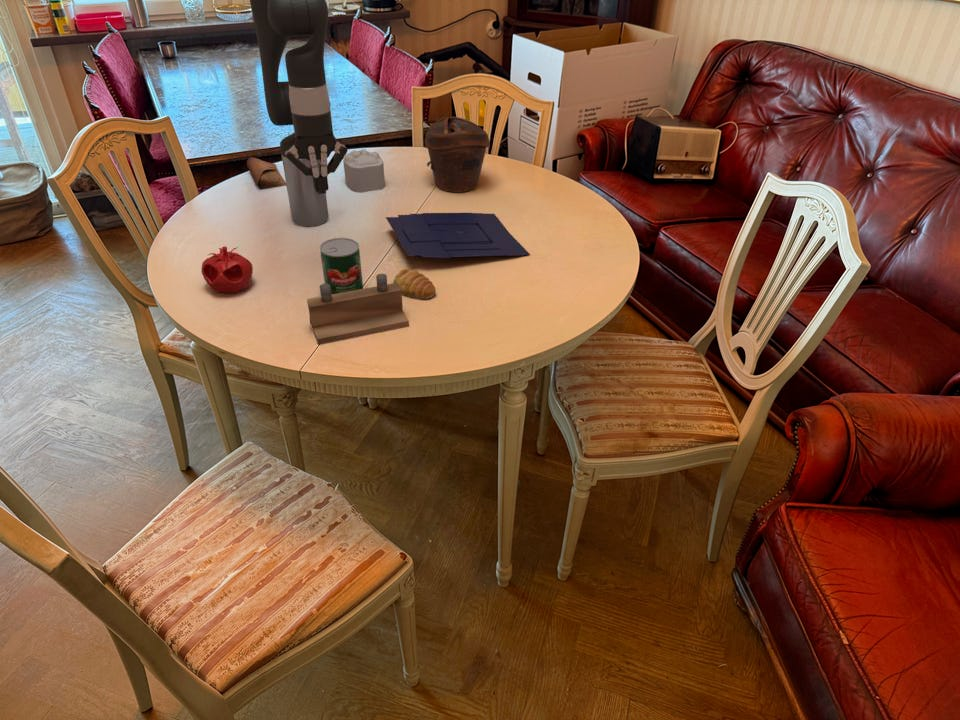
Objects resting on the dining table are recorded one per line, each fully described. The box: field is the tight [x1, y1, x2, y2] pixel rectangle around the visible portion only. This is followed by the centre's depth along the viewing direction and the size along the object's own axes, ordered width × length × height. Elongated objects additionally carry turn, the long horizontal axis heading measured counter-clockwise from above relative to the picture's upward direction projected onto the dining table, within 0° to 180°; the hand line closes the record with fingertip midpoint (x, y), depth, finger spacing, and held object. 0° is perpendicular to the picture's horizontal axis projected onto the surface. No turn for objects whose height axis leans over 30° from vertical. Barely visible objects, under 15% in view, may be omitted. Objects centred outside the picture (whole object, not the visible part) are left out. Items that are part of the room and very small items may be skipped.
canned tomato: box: [319, 237, 364, 295], centre depth 129 cm, size 8×8×11 cm
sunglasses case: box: [246, 156, 287, 190], centre depth 180 cm, size 18×7×7 cm
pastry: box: [392, 268, 436, 300], centre depth 133 cm, size 9×7×4 cm
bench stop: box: [306, 273, 410, 345], centre depth 121 cm, size 8×18×9 cm, turn 113°
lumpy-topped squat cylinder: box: [343, 148, 386, 193], centre depth 177 cm, size 10×13×9 cm
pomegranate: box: [200, 246, 254, 294], centre depth 130 cm, size 10×10×9 cm
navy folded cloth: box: [385, 212, 531, 259], centre depth 152 cm, size 24×30×4 cm
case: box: [424, 116, 491, 193], centre depth 176 cm, size 18×20×18 cm
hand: (321, 192), depth 132 cm, fingers closed
